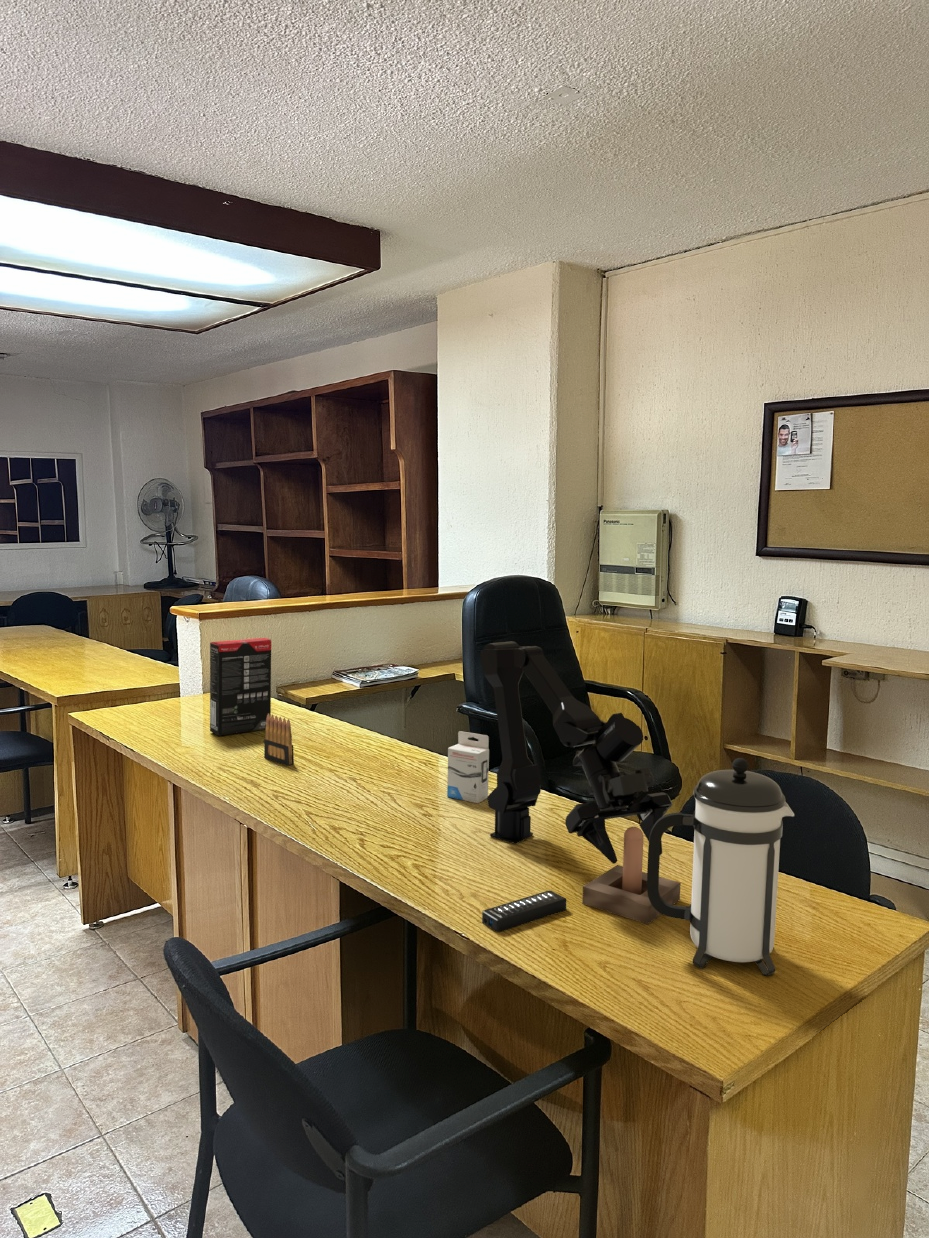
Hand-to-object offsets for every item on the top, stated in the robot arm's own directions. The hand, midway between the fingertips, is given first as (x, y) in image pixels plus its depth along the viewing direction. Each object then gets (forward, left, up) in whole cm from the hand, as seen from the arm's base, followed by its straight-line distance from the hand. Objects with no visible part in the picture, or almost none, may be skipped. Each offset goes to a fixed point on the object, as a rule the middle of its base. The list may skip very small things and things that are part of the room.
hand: (638, 858), depth 148 cm
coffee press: (+18, -7, -8) cm, 21 cm away
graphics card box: (-145, +33, -8) cm, 149 cm away
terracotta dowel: (-1, +1, -8) cm, 8 cm away
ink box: (-56, +27, -8) cm, 63 cm away
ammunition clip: (-112, +19, -8) cm, 114 cm away
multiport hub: (-12, -15, -9) cm, 21 cm away
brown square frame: (-1, +1, -8) cm, 8 cm away
